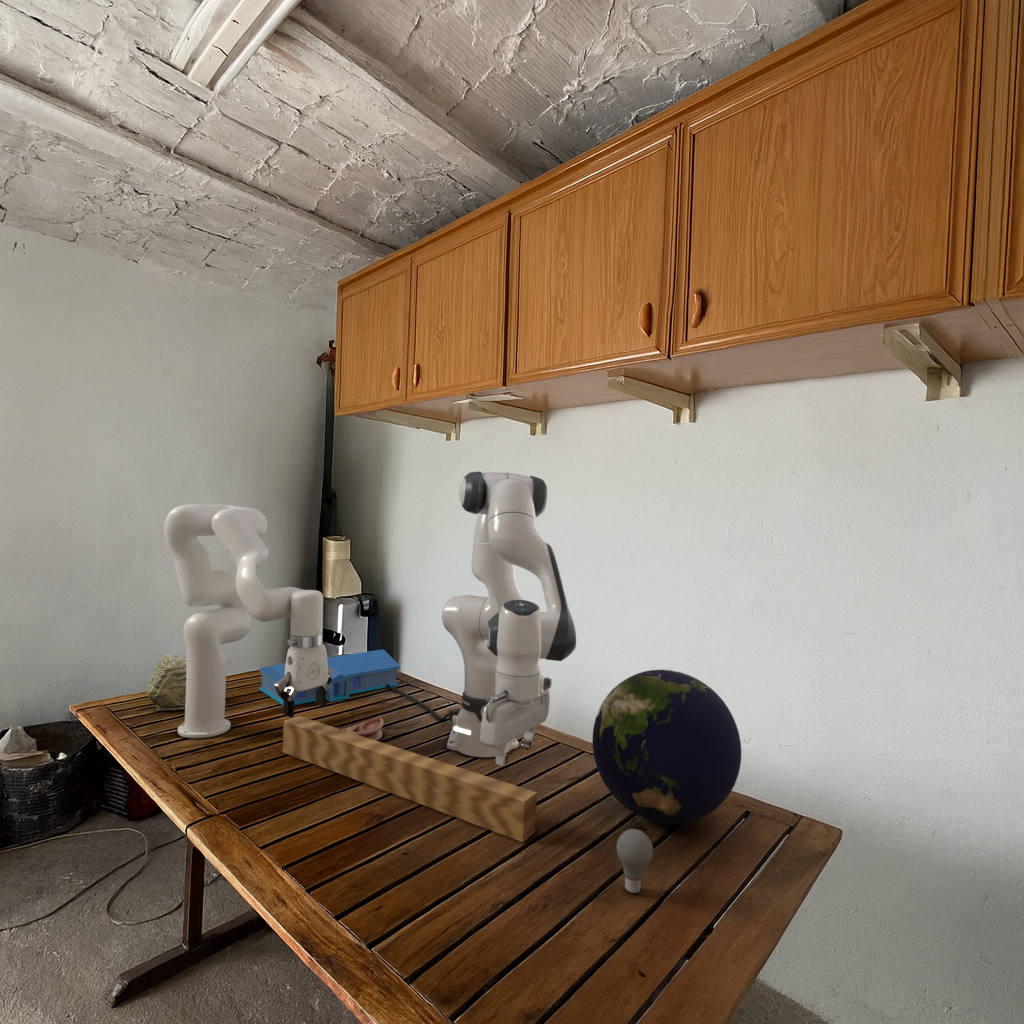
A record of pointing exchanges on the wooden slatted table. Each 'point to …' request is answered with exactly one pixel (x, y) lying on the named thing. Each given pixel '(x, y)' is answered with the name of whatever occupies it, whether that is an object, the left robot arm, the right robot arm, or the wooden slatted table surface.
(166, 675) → the fossil
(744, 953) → the wooden slatted table surface
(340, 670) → the model building
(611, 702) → the globe
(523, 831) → the bar
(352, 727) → the anatomical model
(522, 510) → the right robot arm
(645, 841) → the light bulb
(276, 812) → the wooden slatted table surface
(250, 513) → the left robot arm
